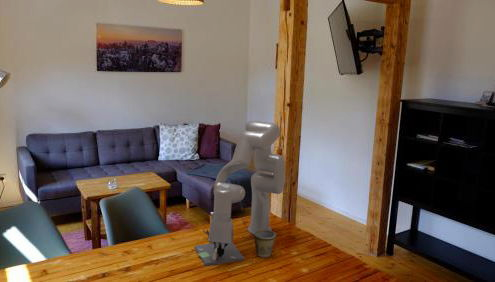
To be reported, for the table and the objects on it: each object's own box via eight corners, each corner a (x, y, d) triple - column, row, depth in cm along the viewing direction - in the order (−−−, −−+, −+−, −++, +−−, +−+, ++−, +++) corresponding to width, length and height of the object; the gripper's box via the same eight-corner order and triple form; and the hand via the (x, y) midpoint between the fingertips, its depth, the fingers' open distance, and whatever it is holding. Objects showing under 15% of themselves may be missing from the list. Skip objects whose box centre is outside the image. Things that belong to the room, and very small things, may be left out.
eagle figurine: (199, 237, 201) (207, 241, 194) (205, 224, 203) (214, 227, 196) (211, 243, 205) (219, 247, 197) (217, 230, 207) (226, 233, 199)
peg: (215, 248, 190) (215, 240, 189) (224, 249, 189) (224, 241, 189) (209, 259, 179) (209, 251, 178) (219, 261, 178) (219, 252, 178)
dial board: (192, 248, 192) (192, 245, 192) (230, 243, 199) (230, 240, 199) (203, 266, 176) (203, 263, 176) (243, 259, 183) (244, 257, 183)
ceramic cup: (271, 260, 183) (272, 239, 182) (250, 256, 187) (251, 235, 185) (278, 248, 196) (279, 229, 194) (258, 245, 199) (259, 225, 197)
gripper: (203, 217, 175) (201, 257, 178) (237, 221, 172) (235, 261, 175) (208, 211, 182) (206, 250, 185) (240, 215, 179) (238, 254, 182)
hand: (220, 255), depth 180 cm, fingers closed
